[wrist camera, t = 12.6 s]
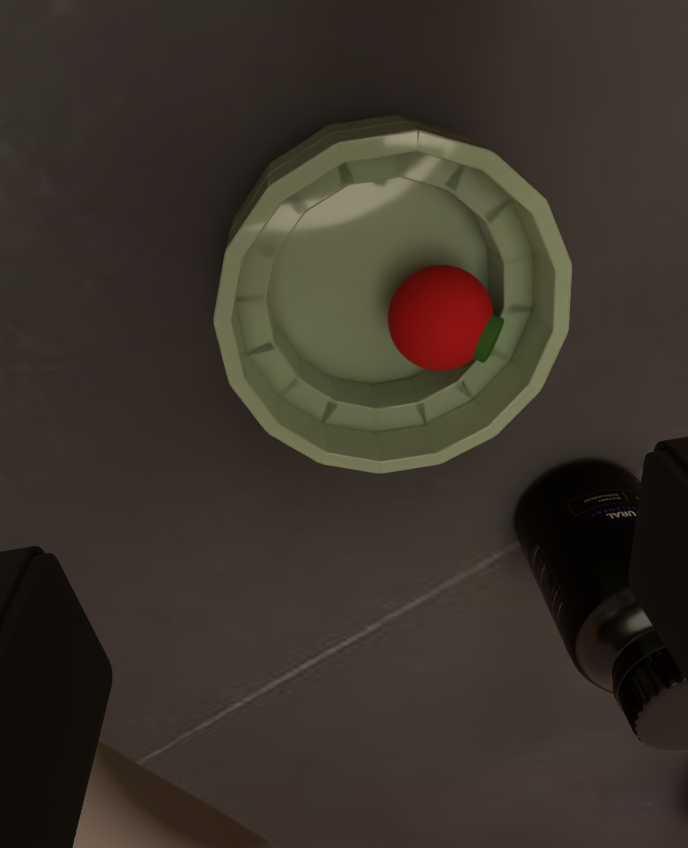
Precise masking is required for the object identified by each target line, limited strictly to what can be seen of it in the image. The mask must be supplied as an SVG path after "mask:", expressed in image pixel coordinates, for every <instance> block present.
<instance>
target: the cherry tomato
mask: <svg viewBox="0 0 688 848" xmlns="http://www.w3.org/2000/svg"><path fill="white" fill-rule="evenodd" d="M503 324H504V319H503V318H501V317H498V316H496V315H493V307H492V303H491V299H490V297H489V295H488V292H487V291H486V289H485V288H484V286H483V285H482V284H481V282H480V281H479V280H478V279H477V278H476V277H474V276H473V275H472V274H470V273H469V272H467V271H465V270H463V269H461V268H458V267H455V266H449V265H435V266H429V267H426V268H423V269H421V270H418V271H416V272H415V273H413V274H411V275H410V276H409V277H408V278H406V279H405V280H404V281H403V282H402V283H401V284H400V286H399V287H398V289H397V290H396V291H395V293H394V295H393V297H392V300H391V302H390V306H389V311H388V327H389V332H390V336H391V338H392V340H393V343H394V345H395V346H396V348H397V349H398V351H399V352H400V353H401V354H402V355H403V356H404V357H405V358H406V359H407V360H409V361H410V362H411V363H413V364H415V365H417V366H419V367H421V368H424V369H428V370H435V371H443V370H451V369H455V368H458V367H460V366H462V365H464V364H466V363H468V362H469V361H471V360H472V359H475V360H477V361H480V362H482V363H485V362H486V361H487V359H488V357H489V356H490V354H491V352H492V350H493V348H494V346H495V344H496V342H497V339H498V337H499V335H500V332H501V330H502V327H503Z"/></svg>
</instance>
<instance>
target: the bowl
mask: <svg viewBox="0 0 688 848" xmlns="http://www.w3.org/2000/svg"><path fill="white" fill-rule="evenodd" d="M435 265H449V266H455V267H458V268H461V269H463V270H465V271H467V272H469V273H470V274H472V275H473V276H474V277H476V278H477V279H478V280H479V281H480V282H481V284H482V285H483V286H484V288H485V289H486V291H487V292H488V295H489V297H490V299H491V303H492V307H493V315H496V316H498V317H501V318H503V319H504V324H503V327H502V330H501V332H500V335H499V337H498V339H497V342H496V344H495V346H494V348H493V350H492V352H491V354H490V356H489V357H488V359H487V361H486V362H485V363H482V362H480V361H477V360H475V359H472V360H471V361H469V362H468V363H466V364H464V365H462V366H460V367H458V368H455V369H451V370H443V371H435V370H428V369H424V368H421V367H419V366H417V365H415V364H413V363H411V362H410V361H409V360H407V359H406V358H405V357H404V356H403V355H402V354H401V353H400V352H399V351H398V349H397V348H396V346H395V345H394V343H393V340H392V338H391V336H390V332H389V327H388V311H389V306H390V302H391V300H392V297H393V295H394V293H395V291H396V290H397V289H398V287H399V286H400V284H401V283H402V282H403V281H404V280H405V279H406V278H408V277H409V276H410V275H411V274H413V273H415V272H416V271H418V270H421V269H423V268H426V267H429V266H435ZM571 277H572V263H571V260H570V258H569V255H568V252H567V250H566V247H565V245H564V242H563V240H562V237H561V235H560V232H559V229H558V227H557V224H556V222H555V219H554V217H553V214H552V212H551V209H550V206H549V204H548V202H547V200H546V199H545V198H544V197H543V196H542V195H541V194H540V193H539V192H537V191H536V190H535V189H534V188H533V187H532V186H531V185H530V184H529V183H528V182H527V181H525V180H524V179H523V178H522V177H521V176H520V175H519V174H518V173H517V172H516V171H514V170H513V169H512V168H511V167H510V166H509V165H508V164H507V163H506V162H505V161H503V160H502V159H501V158H500V157H499V156H498V155H497V154H496V153H495V152H493V151H491V150H489V149H487V148H486V147H484V146H482V145H480V144H478V143H476V142H474V141H473V140H471V139H469V138H467V137H465V136H463V135H462V134H460V133H458V132H454V131H451V130H447V129H444V128H441V127H437V126H434V125H430V124H427V123H424V122H420V121H417V120H413V119H410V118H406V117H403V116H400V115H389V116H383V117H376V118H370V119H364V120H357V121H351V122H344V123H338V124H331V125H329V126H326V127H324V128H323V129H321V130H320V131H318V132H317V133H315V134H314V135H312V136H311V137H309V138H308V139H306V140H304V141H303V142H301V143H300V144H298V145H297V146H295V147H294V148H292V149H291V150H289V151H288V152H286V153H284V154H283V155H281V156H280V157H278V158H277V159H275V160H274V161H272V162H271V163H270V164H269V165H268V167H267V168H266V170H265V171H264V173H263V174H262V176H261V177H260V179H259V180H258V182H257V183H256V185H255V186H254V188H253V189H252V191H251V192H250V194H249V195H248V197H247V199H246V200H245V202H244V203H243V205H242V206H241V208H240V209H239V211H238V212H237V214H236V215H235V217H234V219H233V223H232V227H231V230H230V234H229V238H228V242H227V246H226V250H225V254H224V260H223V265H222V271H221V277H220V283H219V288H218V294H217V300H216V305H215V311H214V317H213V320H214V321H213V324H214V328H215V331H216V335H217V339H218V343H219V347H220V351H221V355H222V359H223V363H224V367H225V371H226V374H227V378H228V382H229V384H230V386H231V387H232V389H233V390H234V391H235V393H236V394H237V395H238V396H239V398H240V399H241V400H242V401H243V403H244V404H245V405H246V407H247V408H248V409H249V410H250V412H251V413H252V414H253V416H254V417H255V418H256V419H257V421H258V422H259V423H260V425H261V426H262V427H263V428H264V430H265V431H266V432H267V433H268V434H269V435H271V436H273V437H275V438H276V439H278V440H280V441H282V442H283V443H285V444H287V445H288V446H290V447H292V448H294V449H295V450H297V451H299V452H301V453H302V454H304V455H306V456H308V457H309V458H311V459H313V460H314V461H316V462H318V463H320V464H324V465H330V466H336V467H342V468H348V469H353V470H359V471H365V472H371V473H377V474H379V473H381V474H382V473H388V472H395V471H401V470H407V469H414V468H420V467H426V466H433V465H439V464H442V463H444V462H446V461H448V460H450V459H452V458H454V457H456V456H458V455H460V454H462V453H463V452H465V451H467V450H469V449H471V448H473V447H475V446H477V445H479V444H481V443H483V442H485V441H487V440H489V439H491V438H493V437H495V435H497V434H498V433H499V432H500V431H501V430H502V429H503V428H504V427H505V426H506V425H507V424H508V423H509V422H510V421H511V420H512V419H513V418H514V417H515V416H516V415H517V414H518V413H519V412H520V411H521V410H522V409H523V408H524V407H525V406H526V405H527V404H528V403H529V402H530V401H531V400H532V399H533V398H534V397H535V396H536V395H537V394H538V393H539V392H540V390H541V389H542V387H543V385H544V383H545V381H546V379H547V377H548V374H549V372H550V370H551V368H552V366H553V364H554V362H555V359H556V357H557V355H558V353H559V351H560V349H561V347H562V344H563V342H564V340H565V338H566V336H567V334H568V330H569V314H570V296H571Z"/></svg>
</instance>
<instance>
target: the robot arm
mask: <svg viewBox="0 0 688 848" xmlns="http://www.w3.org/2000/svg"><path fill="white" fill-rule="evenodd" d="M628 578H629V584H630V588H631V591H632V593H633V595H634V597H635V599H636V600H637V602H638V603H639V605H640V607H641V608H642V610H643V611H644V613H645V615H646V616H647V618H648V619H649V621H650V622H651V624H652V626H653V627H654V629H655V630H656V632H657V633H658V635H659V637H660V638H661V640H662V641H663V643H664V644H665V646H666V648H667V649H668V651H669V652H670V654H671V656H672V657H673V659H674V660H675V662H676V663H677V665H678V667H679V668H680V670H681V671H682V673H683V674H684V676H685V678H686V679H687V681H688V437H683V438H677V439H671V440H665V441H661V442H658V443H657V445H656V446H655V449H654V452H650V453H648V454H647V455H646V456H645V460H644V466H643V473H642V481H641V488H640V495H639V502H638V509H637V516H636V523H635V531H634V538H633V545H632V552H631V559H630V566H629V576H628ZM111 686H112V668H111V664H110V661H109V659H108V657H107V655H106V653H105V651H104V649H103V647H102V646H101V644H100V642H99V640H98V638H97V636H96V634H95V632H94V630H93V628H92V626H91V624H90V622H89V620H88V618H87V616H86V614H85V612H84V610H83V608H82V606H81V604H80V603H79V601H78V599H77V597H76V595H75V593H74V591H73V589H72V587H71V585H70V583H69V581H68V579H67V577H66V575H65V573H64V571H63V569H62V567H61V565H60V563H59V562H58V560H57V558H56V557H55V555H53V554H52V553H47V554H45V552H44V551H43V550H42V549H41V548H40V547H38V546H32V547H27V548H21V549H15V550H9V551H3V552H0V848H72V847H73V843H74V838H75V835H76V830H77V826H78V822H79V818H80V814H81V810H82V806H83V802H84V797H85V793H86V789H87V785H88V781H89V777H90V773H91V768H92V764H93V760H94V756H95V752H96V748H97V744H98V740H99V736H100V732H101V727H102V723H103V719H104V715H105V711H106V707H107V703H108V699H109V694H110V690H111Z"/></svg>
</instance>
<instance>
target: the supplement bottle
mask: <svg viewBox="0 0 688 848" xmlns="http://www.w3.org/2000/svg"><path fill="white" fill-rule="evenodd" d="M640 488H641V482H640V481H639V480H638V479H637V478H636V477H635V476H634V475H633V474H631V473H630V472H629V471H627V470H625V469H624V468H622V467H619V466H617V465H614V464H610V463H605V462H582V463H576V464H572V465H569V466H565V467H563V468H560V469H558V470H556V471H554V472H552V473H550V474H549V475H547V476H546V477H544V478H543V479H542V480H540V481H539V482H538V483H537V484H536V485H535V486H534V487H533V488H532V489H531V490H530V491H529V492H528V494H527V495H526V497H525V498H524V500H523V501H522V503H521V506H520V508H519V511H518V514H517V520H516V531H517V536H518V539H519V542H520V545H521V547H522V549H523V552H524V554H525V557H526V559H527V561H528V563H529V566H530V568H531V570H532V572H533V575H534V577H535V579H536V581H537V584H538V586H539V588H540V590H541V593H542V595H543V597H544V599H545V602H546V604H547V606H548V608H549V611H550V613H551V615H552V617H553V619H554V622H555V624H556V626H557V628H558V631H559V633H560V635H561V637H562V640H563V642H564V644H565V646H566V649H567V651H568V653H569V655H570V657H571V659H572V661H573V663H574V665H575V666H576V668H577V669H578V671H579V672H580V673H581V674H582V675H583V676H584V677H585V678H586V679H587V680H588V681H590V682H591V683H593V684H594V685H596V686H597V687H599V688H601V689H603V690H605V691H607V692H610V693H613V694H614V697H615V699H616V701H617V703H618V705H619V707H620V709H621V710H622V711H623V712H624V714H625V716H626V718H627V720H628V722H629V724H630V726H631V728H632V730H633V732H634V733H635V735H636V736H637V737H638V739H639V740H640V742H642V743H645V745H646V746H647V747H651V748H653V749H654V750H661V751H663V752H673V753H679V752H688V681H687V679H686V678H685V676H684V674H683V673H682V671H681V670H680V668H679V667H678V665H677V663H676V662H675V660H674V659H673V657H672V656H671V654H670V652H669V651H668V649H667V648H666V646H665V644H664V643H663V641H662V640H661V638H660V637H659V635H658V633H657V632H656V630H655V629H654V627H653V626H652V624H651V622H650V621H649V619H648V618H647V616H646V615H645V613H644V611H643V610H642V608H641V607H640V605H639V603H638V602H637V600H636V599H635V597H634V595H633V593H632V591H631V588H630V584H629V578H628V576H629V566H630V559H631V552H632V545H633V538H634V531H635V523H636V516H637V509H638V502H639V495H640Z"/></svg>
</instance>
